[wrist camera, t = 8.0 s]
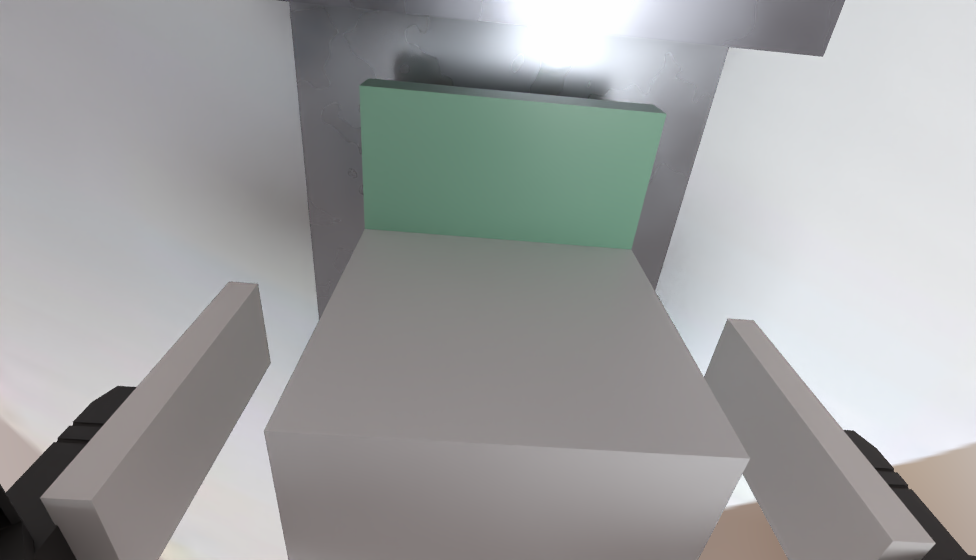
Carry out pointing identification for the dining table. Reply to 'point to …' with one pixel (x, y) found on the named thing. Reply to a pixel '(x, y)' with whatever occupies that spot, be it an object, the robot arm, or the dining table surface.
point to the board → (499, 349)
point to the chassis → (525, 81)
